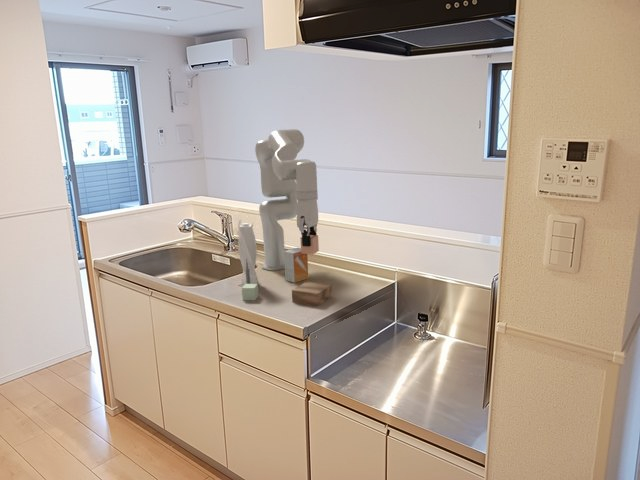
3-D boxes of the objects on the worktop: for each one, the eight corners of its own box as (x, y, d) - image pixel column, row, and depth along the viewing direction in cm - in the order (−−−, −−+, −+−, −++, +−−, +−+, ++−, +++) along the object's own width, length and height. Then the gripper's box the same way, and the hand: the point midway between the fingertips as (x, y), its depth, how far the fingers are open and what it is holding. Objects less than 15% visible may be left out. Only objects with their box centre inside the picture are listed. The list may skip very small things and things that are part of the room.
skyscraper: (236, 285, 214) (230, 220, 207) (250, 280, 219) (246, 217, 213) (248, 289, 208) (243, 222, 202) (263, 284, 214) (259, 219, 207)
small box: (294, 283, 212) (293, 253, 209) (285, 280, 217) (283, 251, 214) (308, 278, 218) (307, 249, 215) (299, 275, 222) (297, 247, 219)
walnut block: (307, 293, 200) (306, 281, 199) (331, 297, 194) (331, 285, 193) (292, 302, 191) (291, 290, 189) (317, 306, 185) (316, 294, 184)
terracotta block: (306, 250, 191) (305, 234, 190) (318, 250, 189) (318, 235, 188) (301, 253, 187) (300, 237, 185) (313, 254, 185) (312, 238, 183)
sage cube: (246, 295, 200) (245, 283, 198) (258, 295, 199) (257, 283, 198) (242, 300, 195) (241, 288, 194) (255, 300, 194) (254, 288, 193)
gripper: (307, 192, 192) (309, 238, 196) (287, 199, 177) (290, 249, 181) (325, 192, 189) (327, 239, 194) (307, 199, 174) (309, 250, 178)
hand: (309, 243), depth 187 cm, fingers closed on terracotta block, 5 cm apart
